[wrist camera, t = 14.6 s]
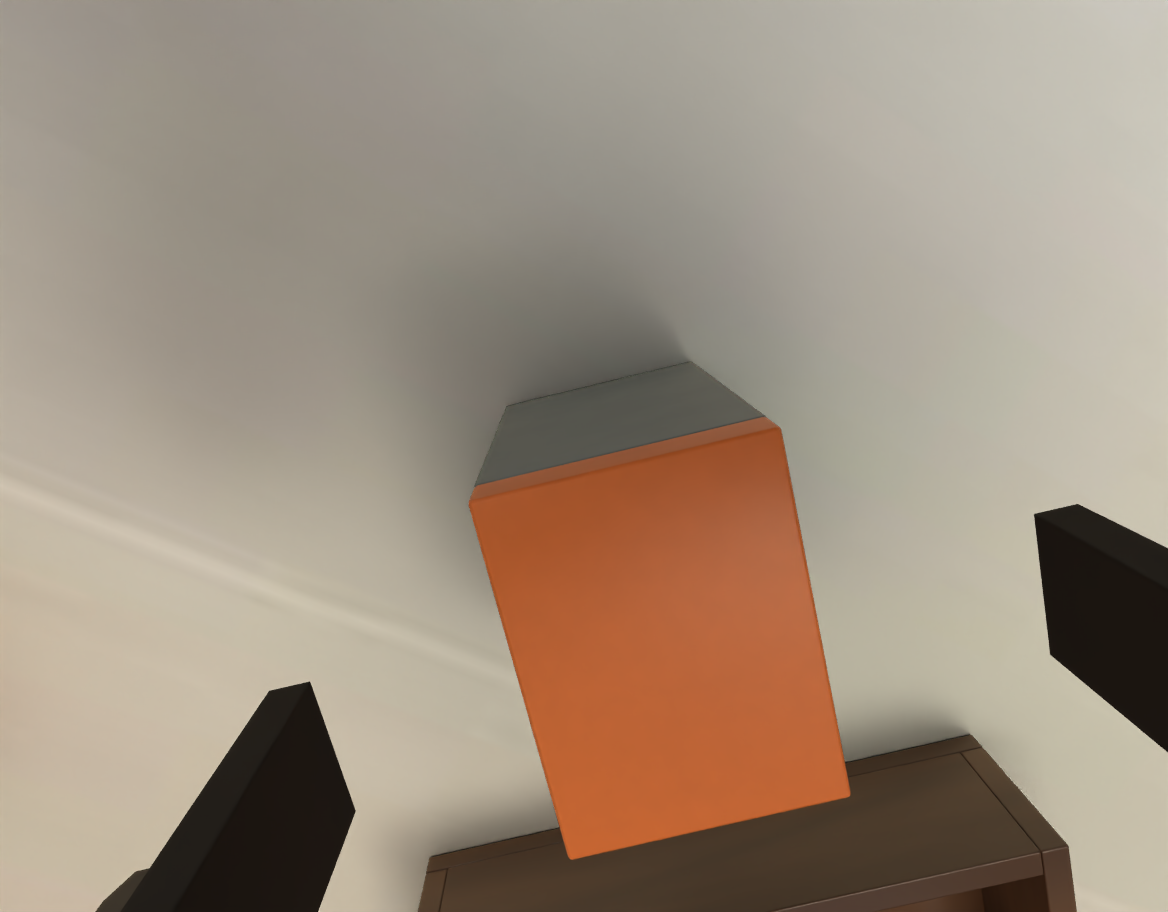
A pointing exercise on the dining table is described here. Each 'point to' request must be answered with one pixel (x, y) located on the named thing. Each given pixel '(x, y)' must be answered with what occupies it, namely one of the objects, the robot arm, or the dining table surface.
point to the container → (658, 608)
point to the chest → (802, 854)
